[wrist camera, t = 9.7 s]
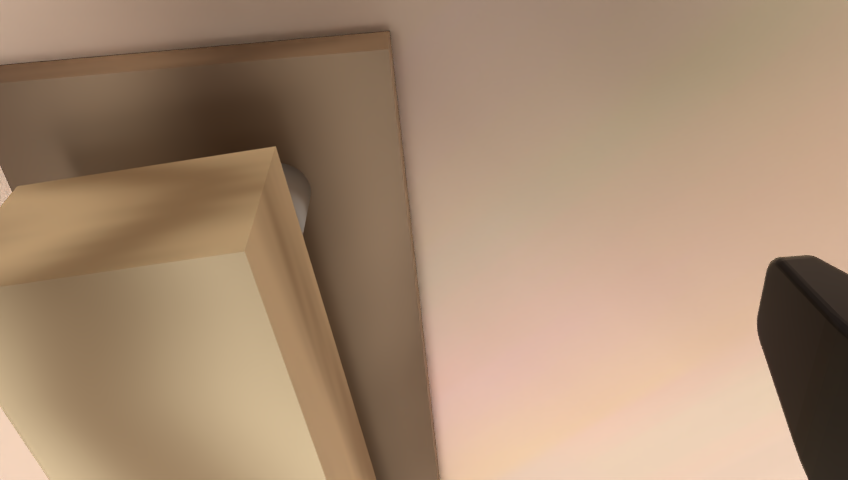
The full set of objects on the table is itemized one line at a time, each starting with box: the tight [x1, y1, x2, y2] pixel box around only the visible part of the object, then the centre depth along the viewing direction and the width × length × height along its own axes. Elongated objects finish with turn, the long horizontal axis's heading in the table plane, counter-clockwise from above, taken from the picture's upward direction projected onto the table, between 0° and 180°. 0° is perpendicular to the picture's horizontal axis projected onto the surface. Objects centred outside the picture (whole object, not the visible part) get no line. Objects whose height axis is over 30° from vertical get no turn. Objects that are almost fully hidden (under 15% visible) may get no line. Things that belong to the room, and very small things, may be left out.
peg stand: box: [0, 31, 440, 480], centre depth 23 cm, size 10×19×3 cm, turn 5°
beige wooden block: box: [0, 146, 376, 480], centre depth 20 cm, size 6×16×4 cm, turn 9°
